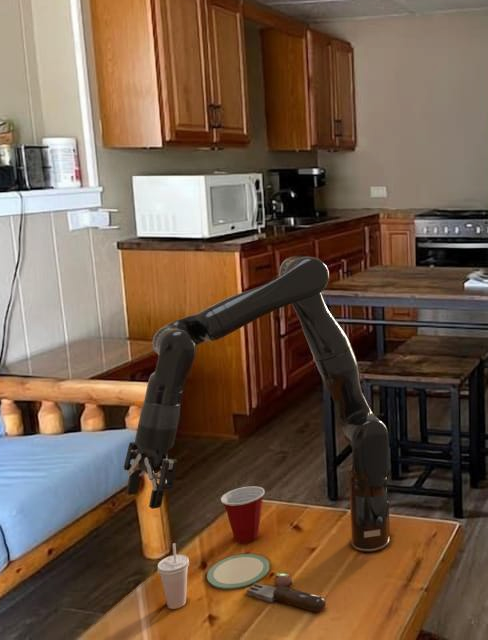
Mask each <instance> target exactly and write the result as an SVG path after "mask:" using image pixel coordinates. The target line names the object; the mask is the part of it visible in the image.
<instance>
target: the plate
mask: <svg viewBox="0 0 488 640" xmlns="http://www.w3.org/2000/svg"><path fill="white" fill-rule="evenodd" d="M269 571H270V562H269V560H268V559H267V558H266V557H264V556H262V555H259V554H254V553H242V554H235V555H232V556H227V557H226V558H224V559H223V558H222V559H221V560H219V561H217V562H216V563H215V564H213V565H212V566H211V567H210V568H209V569H208V571H207V574H206V580H207V582H208V583H209V584H210V585H211V586H212V587H214V588H217V589H220V590H237V589H242V588H246V587H249V586H253V585H254V584H255V583H259V581H261V580H262V579H263V578H265V577H266V576H267V574H268V573H269Z"/></svg>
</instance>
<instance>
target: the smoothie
mask: <svg viewBox="0 0 488 640" xmlns="http://www.w3.org/2000/svg"><path fill="white" fill-rule="evenodd" d="M189 560H190V559H189V557H188V556H187V555H185V554H177V547H176V543H175V542H174V543H172V555H169V556H167V557H164V558H162V559H161V560H160V561H159V562H158V563H157V572H158V574H159V575H160V579H161V585H162V588H163V592H164V595H165V596H164V597H165V602H166V604H167V608H168V609H171V610H176V609H180V608H182V607H184V606H185V605H186V603H187V587H188V567H189V566H190V561H189Z"/></svg>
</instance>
